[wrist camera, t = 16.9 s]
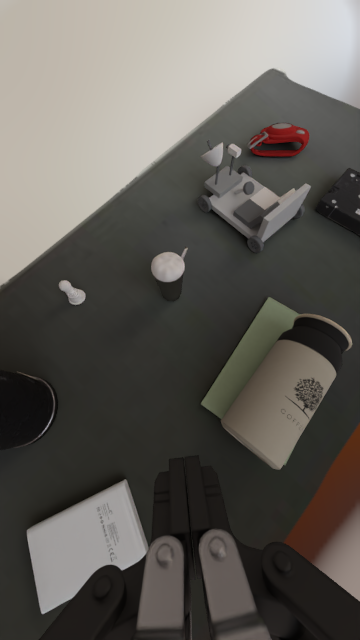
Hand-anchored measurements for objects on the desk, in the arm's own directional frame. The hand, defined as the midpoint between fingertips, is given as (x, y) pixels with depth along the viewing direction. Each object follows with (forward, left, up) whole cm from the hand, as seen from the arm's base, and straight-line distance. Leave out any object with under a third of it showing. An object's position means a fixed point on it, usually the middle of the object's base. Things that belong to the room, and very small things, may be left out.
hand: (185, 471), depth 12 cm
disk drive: (+45, +19, -23) cm, 54 cm away
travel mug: (+6, -4, -18) cm, 20 cm away
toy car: (+26, +30, -23) cm, 46 cm away
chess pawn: (-8, +26, -23) cm, 36 cm away
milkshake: (+7, +20, -23) cm, 31 cm away
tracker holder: (+40, +42, -23) cm, 63 cm away
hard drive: (-16, -6, -23) cm, 29 cm away
